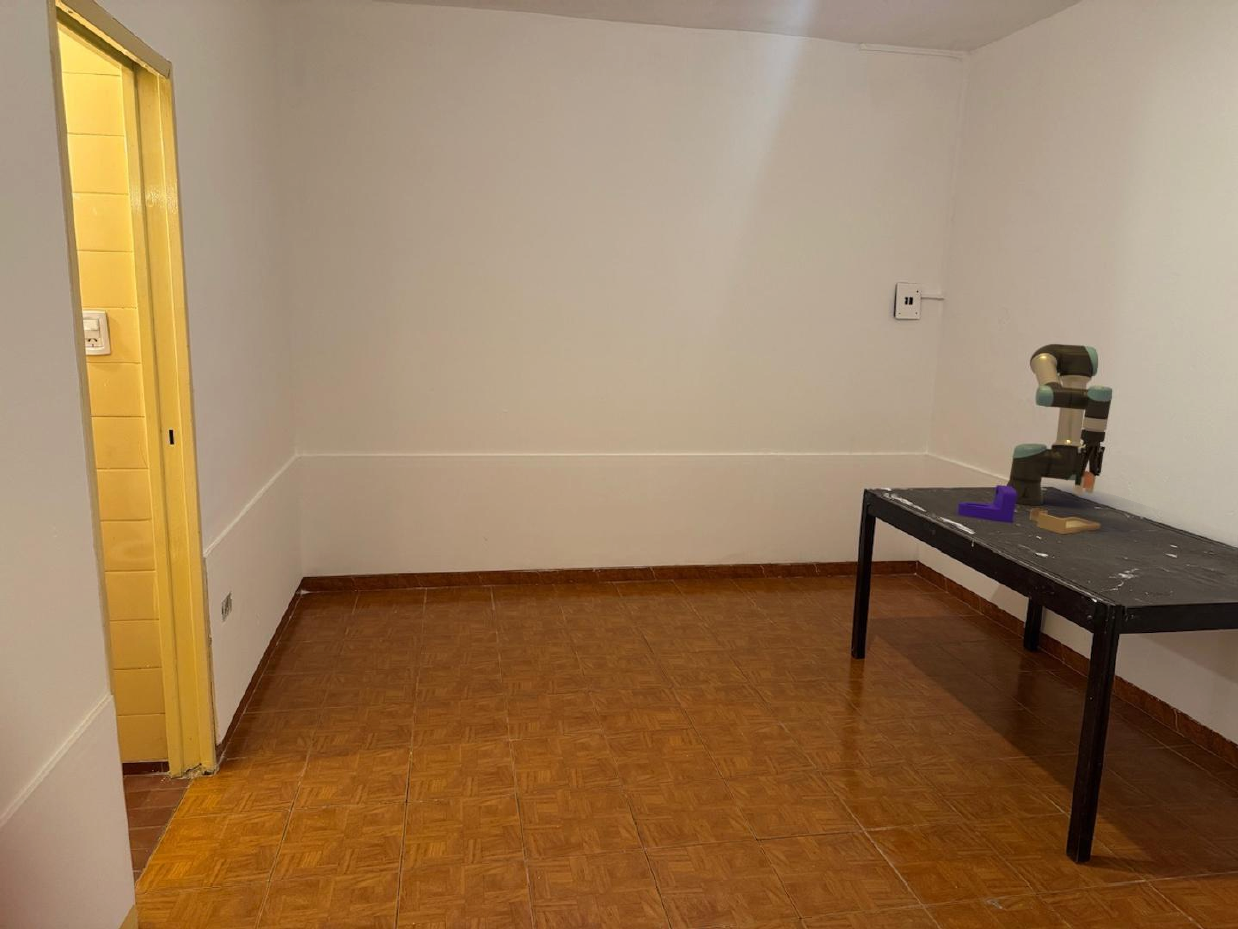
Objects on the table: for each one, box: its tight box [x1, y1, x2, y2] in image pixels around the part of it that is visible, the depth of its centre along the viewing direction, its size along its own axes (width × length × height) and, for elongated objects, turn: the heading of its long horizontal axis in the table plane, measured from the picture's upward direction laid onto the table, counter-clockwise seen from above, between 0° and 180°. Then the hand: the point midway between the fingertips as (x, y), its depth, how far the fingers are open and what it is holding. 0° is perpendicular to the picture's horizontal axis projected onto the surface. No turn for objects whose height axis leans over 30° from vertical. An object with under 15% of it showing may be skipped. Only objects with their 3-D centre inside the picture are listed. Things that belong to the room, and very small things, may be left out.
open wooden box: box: [1029, 507, 1049, 523], centre depth 319 cm, size 4×4×4 cm
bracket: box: [957, 484, 1017, 524], centre depth 319 cm, size 18×11×12 cm, turn 80°
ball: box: [1083, 470, 1096, 489], centre depth 310 cm, size 6×6×6 cm
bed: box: [1036, 513, 1101, 535], centre depth 310 cm, size 22×10×5 cm, turn 119°
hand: (1083, 493), depth 311 cm, fingers closed on ball, 6 cm apart
